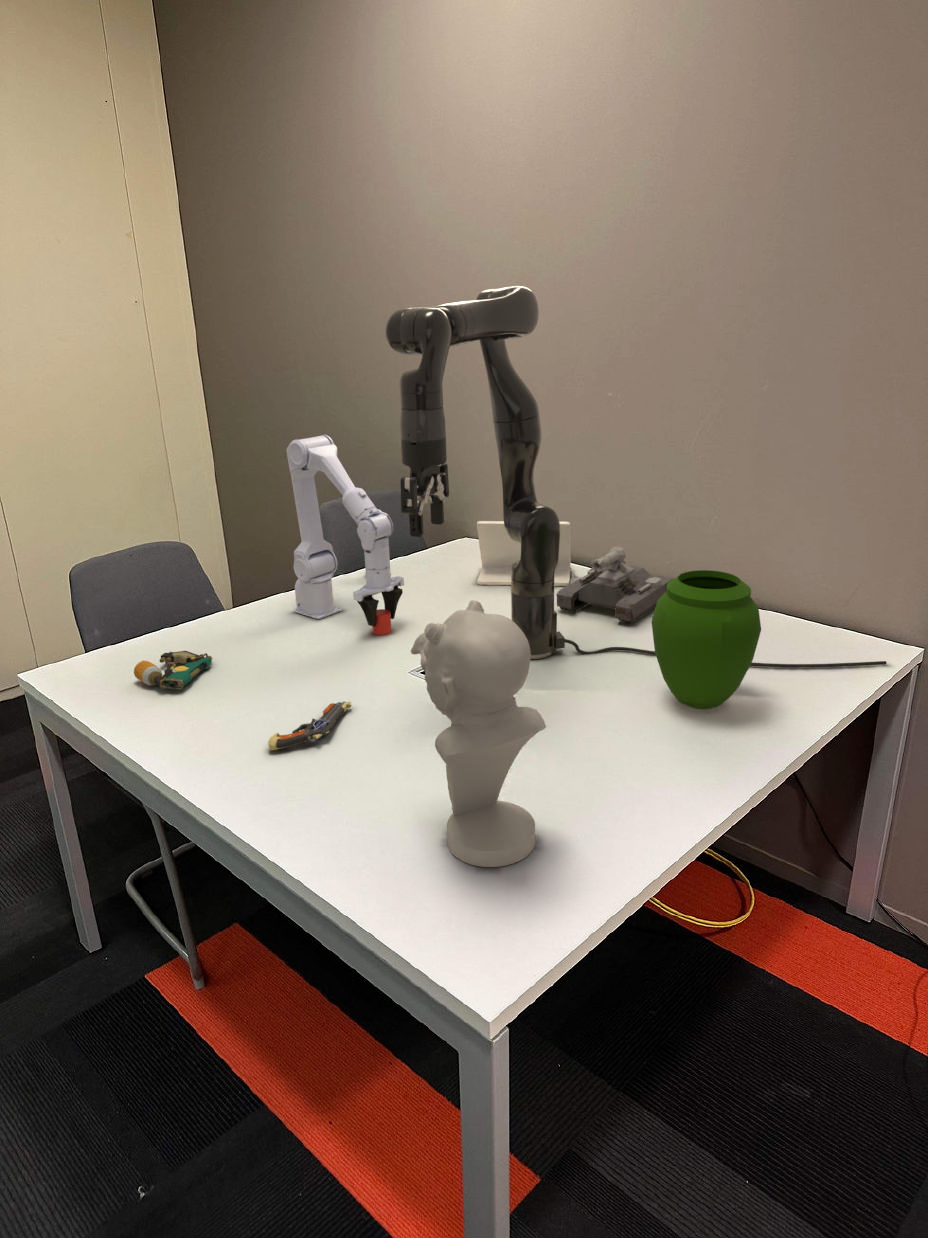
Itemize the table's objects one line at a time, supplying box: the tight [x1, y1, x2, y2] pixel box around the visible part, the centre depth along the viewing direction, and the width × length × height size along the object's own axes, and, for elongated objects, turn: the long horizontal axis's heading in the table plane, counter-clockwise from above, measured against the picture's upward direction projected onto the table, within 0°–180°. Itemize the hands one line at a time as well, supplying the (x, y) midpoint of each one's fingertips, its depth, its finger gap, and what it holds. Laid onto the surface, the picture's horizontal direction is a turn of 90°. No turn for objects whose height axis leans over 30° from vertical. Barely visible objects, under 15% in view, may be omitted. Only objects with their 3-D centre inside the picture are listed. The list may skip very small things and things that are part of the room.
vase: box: [651, 569, 762, 710], centre depth 158 cm, size 20×20×24 cm
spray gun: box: [133, 650, 213, 690], centre depth 180 cm, size 4×17×15 cm
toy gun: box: [267, 700, 353, 751], centre depth 156 cm, size 3×19×10 cm
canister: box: [372, 608, 392, 636], centre depth 201 cm, size 4×4×5 cm
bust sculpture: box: [410, 599, 547, 868], centre depth 121 cm, size 16×24×35 cm
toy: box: [556, 546, 675, 624], centre depth 212 cm, size 25×20×15 cm
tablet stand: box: [476, 520, 572, 587], centre depth 236 cm, size 18×25×17 cm
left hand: (381, 621), depth 201 cm, fingers open, 5 cm apart
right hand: (427, 529), depth 148 cm, fingers open, 8 cm apart
